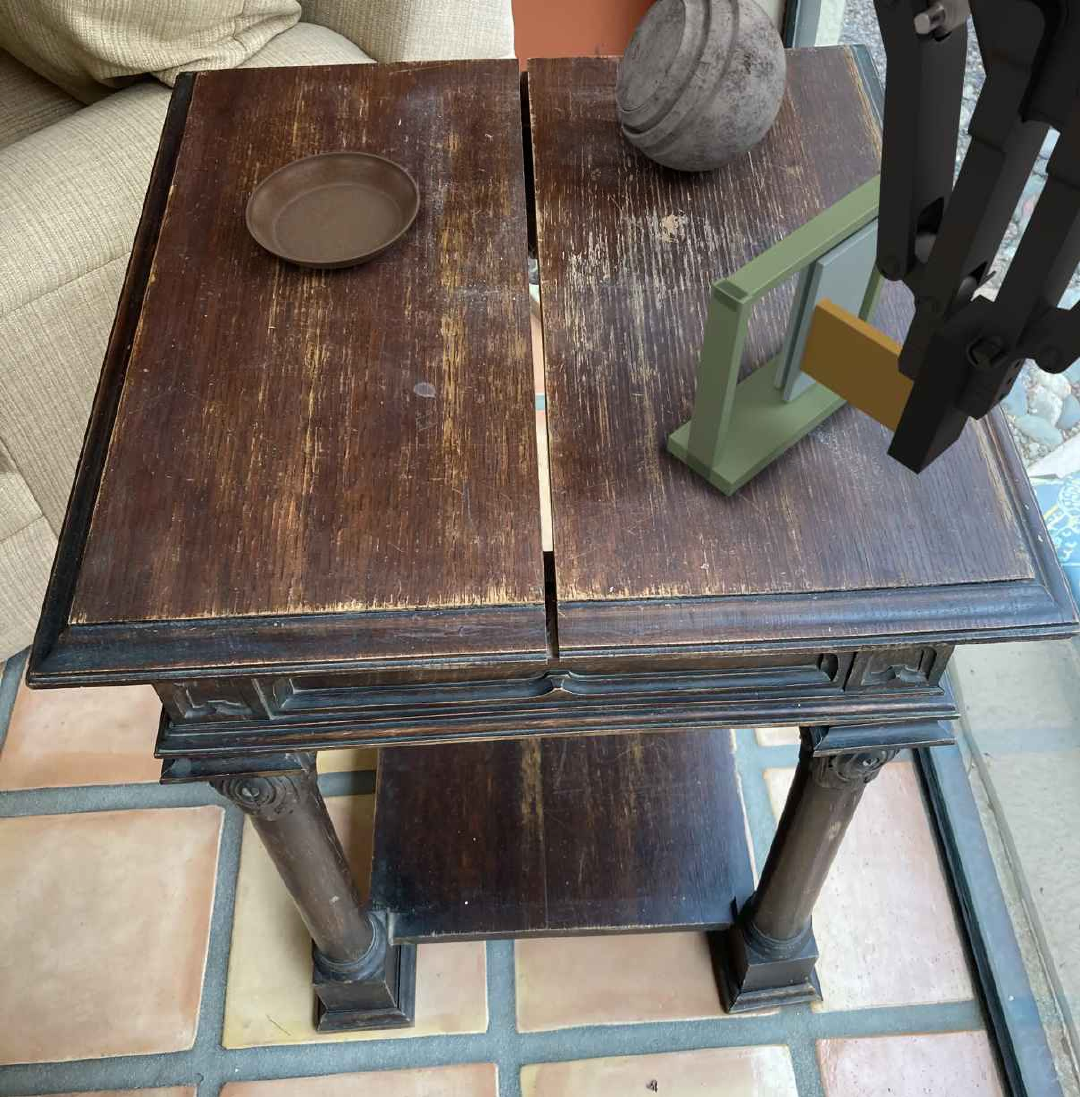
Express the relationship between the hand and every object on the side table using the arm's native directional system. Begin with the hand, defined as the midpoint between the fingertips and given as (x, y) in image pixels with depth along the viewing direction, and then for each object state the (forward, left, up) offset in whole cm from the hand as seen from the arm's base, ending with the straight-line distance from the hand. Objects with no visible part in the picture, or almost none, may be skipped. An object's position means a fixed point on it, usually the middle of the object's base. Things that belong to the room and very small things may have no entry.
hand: (922, 445), depth 41 cm
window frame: (+18, -19, -26) cm, 37 cm away
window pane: (+12, -22, -25) cm, 35 cm away
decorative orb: (+44, -38, -27) cm, 64 cm away
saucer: (+58, -8, -27) cm, 64 cm away
